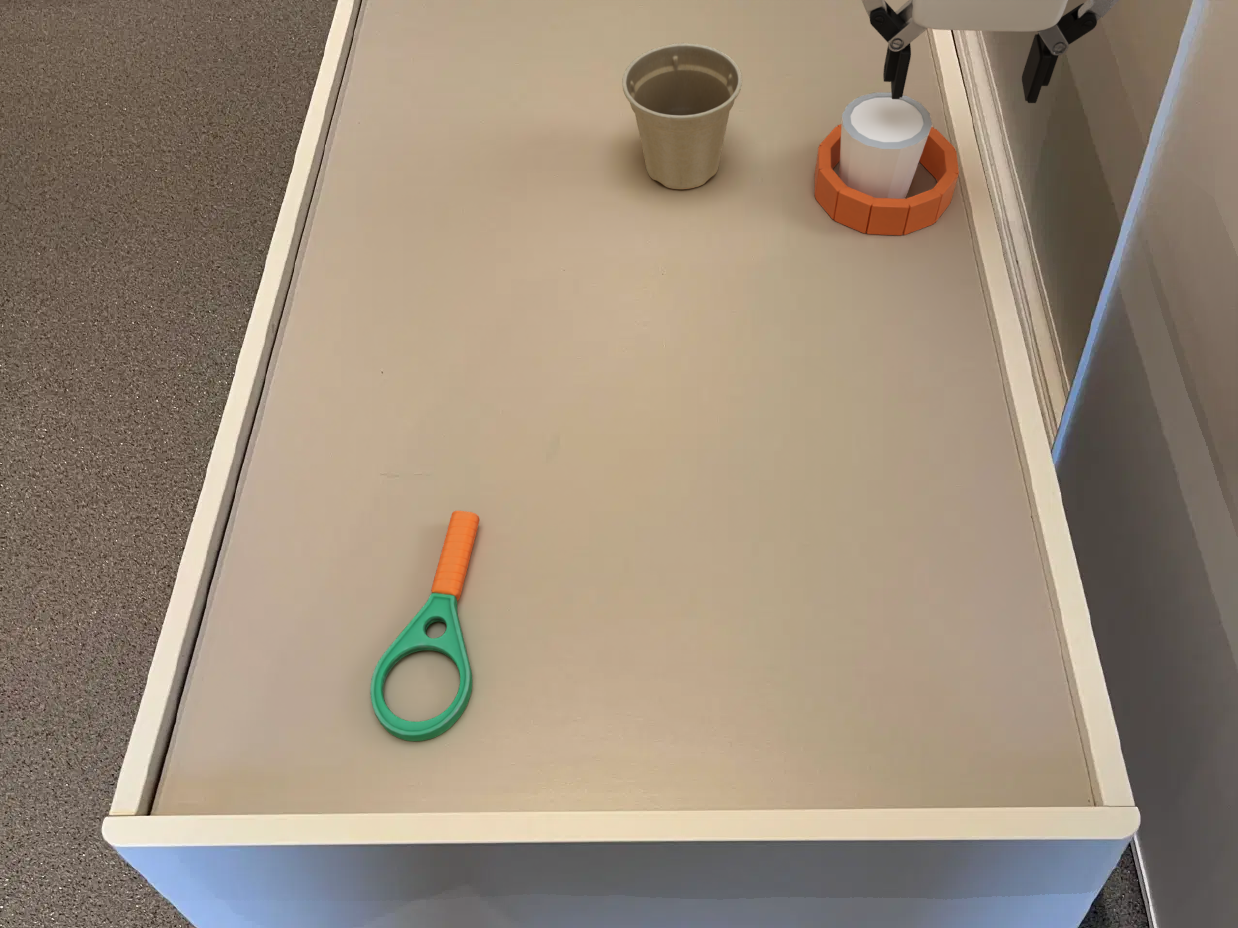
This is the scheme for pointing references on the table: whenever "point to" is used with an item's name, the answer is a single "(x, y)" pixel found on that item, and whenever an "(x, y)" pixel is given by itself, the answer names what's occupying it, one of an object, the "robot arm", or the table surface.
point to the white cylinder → (882, 144)
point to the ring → (886, 212)
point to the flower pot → (682, 109)
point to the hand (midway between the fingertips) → (961, 89)
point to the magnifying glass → (450, 643)
